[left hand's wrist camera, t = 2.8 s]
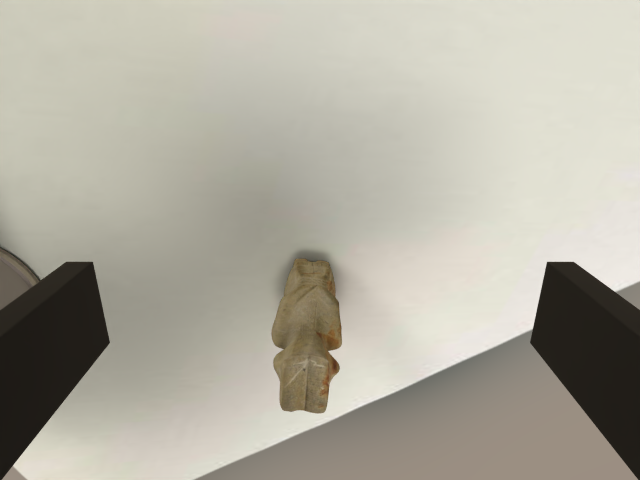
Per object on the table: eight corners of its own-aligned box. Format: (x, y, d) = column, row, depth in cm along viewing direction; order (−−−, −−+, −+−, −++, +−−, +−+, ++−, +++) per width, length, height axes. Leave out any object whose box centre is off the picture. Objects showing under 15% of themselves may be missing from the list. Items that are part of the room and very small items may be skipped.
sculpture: (277, 309, 44) (257, 417, 30) (286, 246, 42) (269, 332, 28) (331, 317, 45) (337, 427, 31) (344, 255, 42) (356, 344, 28)
